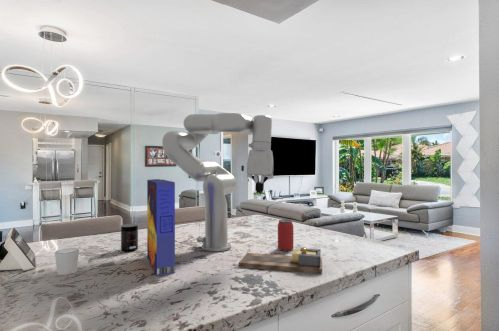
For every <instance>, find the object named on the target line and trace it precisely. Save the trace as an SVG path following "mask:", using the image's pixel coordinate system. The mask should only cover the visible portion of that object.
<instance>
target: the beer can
mask: <svg viewBox="0 0 499 331" xmlns="http://www.w3.org/2000/svg"><path fill="white" fill-rule="evenodd" d="M277 249H278V250H279V251H284V252H289V251H293V249H294V223H293V220H291V219H279V220H278V223H277Z"/></svg>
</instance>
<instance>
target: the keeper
mask: <svg viewBox="0 0 499 331" xmlns="http://www.w3.org/2000/svg"><path fill="white" fill-rule="evenodd" d="M302 248H303V247H300V249H299V251H302ZM307 251H310V252H316V255H313V254H299V266H309V267H320V262H321V258H322V257H321V256H322V255H321V253H322V252H321V251H322V250H321V249H319V248H307Z"/></svg>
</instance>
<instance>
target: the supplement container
mask: <svg viewBox="0 0 499 331" xmlns="http://www.w3.org/2000/svg"><path fill="white" fill-rule="evenodd" d="M138 249H139V224H138V223H125V224H122V225H120V250H121V252H123V253H133V252H136V251H138Z"/></svg>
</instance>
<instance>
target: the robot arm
mask: <svg viewBox="0 0 499 331" xmlns="http://www.w3.org/2000/svg"><path fill="white" fill-rule="evenodd" d="M272 124H273V120H272V117H271V116H270V115H266V114H265V115H264V114H263V115H262V114H260V115H259V114H257V115H255V116H249V115H245V114H243V113H238V112H236V113H235V112H221V113H216V114H215V113H209V114H208V113H207V114H206V113H205V114H203V113H202V114H201V113H200V114H199V113H195V114H194V113H193V114H188V115H187V116H186V117H184V120H183V127H184V129H185V131H180V130H179V131H178V130H170V131H167V132H166V133H165V134H164V135H163V137H162V142H161V144H162V150H163V152H164V154H165V156H166V157H167V158H168V159H169V161H171V162H172V163H173V164H175V165H176V166H177V167H179V169H180V170H182V171H183V172H184V173H185V174H187V175H188V176H189V177H190V178H191V179H193V180H194V181H195V182H202V191H203V198H204V218H205V220H204V223H205V224H204V226H205V227H204V234H205V235H204V237H203V236H197V238H196V242H197V243H202V244H201V249H202V250H204V251H206V252H223V251H228V250H230V249H231V248H232V244H231V243H230V242H228V239H229V238H228V236H229V235H228V234H229V233H228V231H229V230H228V202H227V198H226V196H227V195H230V194H233V192H235V191H236V189H237V186H238V183H237V179H236V177H234V175H233V174H232V173H230V172H229V171H228V170H227V169H225V168H224V167H222V166H221V165H220V164H219V163H217V162H216V161H213V160H205V159H204V160H203V159H201V158H198V156H196V155H194V154H193V153H192V152H191V150H194V149H195V148H196V147H197V146H199V144H201V143H202V141H204V140H205V139H206V138H207V136H209V135H217V134H219V133H235V134H236V133H237V134H242V135H245V136H251V143H248V146H247V147H248V148H251V149H249V150H248V156H247V160H246V161H247V162H246V178H249V179H252V181H254V183H255V189H254V190H255V191H256V194H263V192H264V188H265V183H266V181H268V180H272V179H274V155H273V154H274V153H273V150H271V148H272V147H271V146H272V143H271V142H272V128H273V127H272V126H273V125H272ZM186 131H187V132H186ZM260 176H261V177H260Z"/></svg>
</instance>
